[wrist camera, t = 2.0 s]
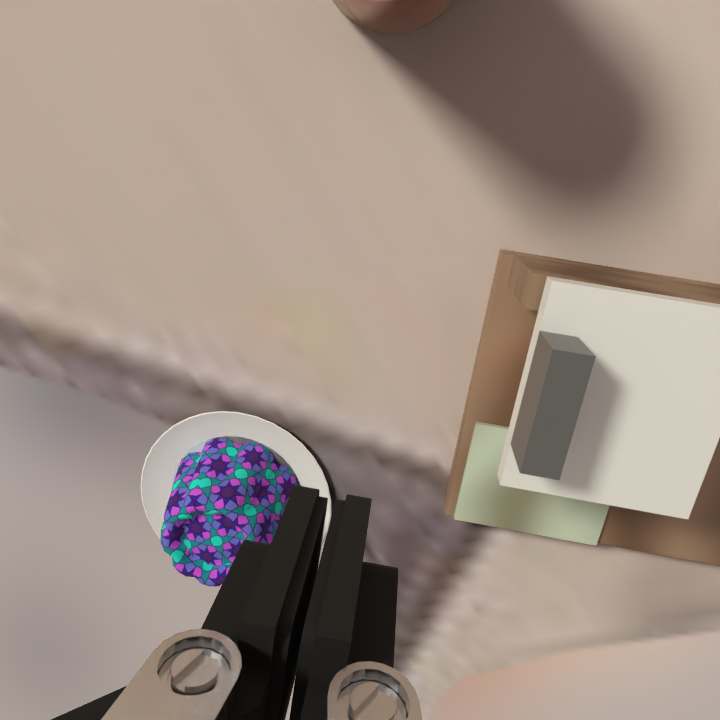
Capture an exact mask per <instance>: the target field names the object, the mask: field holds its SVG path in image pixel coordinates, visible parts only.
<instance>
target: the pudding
mask: <svg viewBox="0 0 720 720" xmlns="http://www.w3.org/2000/svg"><path fill="white" fill-rule="evenodd" d="M223 436H237V437H243V438H248V439H252V440H255V441H257V442H260V443H262V444H264V445H266V446H268V447H269V448H271V449H273V450H274V451H275V452H277V453H278V454H279V455H280V456H282V457H283V458H284V459H285V460H286V462H287V463H288V464H289V465H290V466H291V467H292V469H293V471H294V472H295V474H296V475H297V477H298V480H299V482H300V485H301V486H304V487H309V488H315V489H319V490H320V492H319V496H321V497H326V498H328V503H327V510H326V517H325V524H324V530H323V537H322V543H323V541H324V539H325V537H326V534H327V532H328V528H329V524H330V519H331V497H330V492H329V487H328V484H327V481H326V479H325V476H324V474H323V471H322V469H321V468H320V466H319V465H318V463H317V461H316V460H315V458H314V457H313V455H312V454H311V453H310V452H309V451H308V450H307V448H306V447H305V446H304V445H303V444H302V443H301V442H300V441H299V440H297V439H296V438H295V437H294V436H293V435H291V434H290V433H289V432H288V431H286V430H284V429H282V428H281V427H279V426H277V425H276V424H274V423H272V422H270V421H267V420H264V419H262V418H259V417H257V416H253V415H249V414H244V413H240V412H226V411H218V412H209V413H202V414H199V415H196V416H192V417H189V418H187V419H185V420H183V421H181V422H179V423H177V424H175V425H173V426H172V427H171V428H170V429H168V430H167V431H166V432H165V433H163V434H162V435H161V436H160V438H159V439H158V440H157V441H156V442H155V444H154V445H153V446H152V448H151V450H150V452H149V454H148V455H147V457H146V459H145V463H144V466H143V470H142V475H141V496H142V503H143V506H144V510H145V512H146V516H147V518H148V520H149V522H150V524H151V526H152V528H153V530H154V532H155V533H156V534H157V536H158V537H159V539H160V540H161V544H162V547H163V549H164V551H165V552H166V553H168V554H169V555H170V556H172V560H173V566H174V567H175V568H176V569H177V570H178V572H180V573H181V574H183V575H185V576H190V577H196V578H197V579H198V580H199V582H200V583H202V584H204V585H207V586H220V585H221V584H223V582H224V580H225V578H226V576H227V573H228V571H229V569H230V567H231V565H232V563H233V561H234V559H235V557H236V555H237V552H238V550H239V548H240V546H241V544H242V543H243V541H244V540H250V541H255V542H261V543H266V544H271V542H272V540H273V537H274V535H275V532H276V529H277V527H278V524H279V522H280V519H281V517H282V514H283V512H284V509H285V507H286V504H287V502H288V499H289V497H290V494H291V492H292V489H293V487H294V485H298V483H297V480H296V476H295V475H294V474H293V473H292V472H291V470H290V469H289V468H288V467H285V466H282V465H279V464H277V463H276V462H275V459H274V457H273V454H272V452H271V451H270V450H268V449H267V448H266V447H264V446H263V445H261V444H257V443H254V442H248V443H245V444H242V445H237V444H236V443H234V442H233V441H231V440H229V439H228V438H216V439H214V440H210V439H212V438H215V437H223ZM321 545H322V544H321Z"/></svg>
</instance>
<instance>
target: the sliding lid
mask: <svg viewBox="0 0 720 720" xmlns="http://www.w3.org/2000/svg"><path fill="white" fill-rule="evenodd" d="M719 438H720V304H716V303H709V302H703V301H697V300H691V299H685V298H679V297H673V296H666V295H660V294H654V293H648V292H642V291H636V290H629V289H623V288H617V287H611V286H605V285H599V284H593V283H586V282H580V281H574V280H568V279H562V278H556V277H550V276H547V279H546V283H545V287H544V291H543V295H542V298H541V302H540V306H539V310H538V314H537V318H536V322H535V326H534V330H533V334H532V338H531V342H530V346H529V350H528V354H527V358H526V362H525V366H524V370H523V374H522V378H521V382H520V386H519V389H518V393H517V397H516V401H515V405H514V409H513V413H512V417H511V421H510V425H509V429H508V433H507V437H506V441H505V445H504V449H503V453H502V457H501V461H500V465H499V469H498V473H497V475H498V479H499V483H500V485H502V486H507V487H513V488H518V489H524V490H529V491H535V492H540V493H546V494H551V495H557V496H562V497H568V498H573V499H579V500H584V501H590V502H595V503H600V504H606V505H611V506H617V507H622V508H628V509H633V510H639V511H644V512H650V513H655V514H661V515H666V516H672V517H677V518H683V519H689V516H690V513H691V511H692V508H693V506H694V503H695V500H696V498H697V495H698V493H699V490H700V487H701V485H702V482H703V480H704V477H705V474H706V472H707V469H708V467H709V464H710V461H711V459H712V456H713V454H714V451H715V448H716V446H717V443H718V441H719Z"/></svg>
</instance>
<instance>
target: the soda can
mask: <svg viewBox="0 0 720 720" xmlns="http://www.w3.org/2000/svg"><path fill="white" fill-rule="evenodd" d="M332 1H333V2H334V4H335V5H336V6H337V7H338V9H339V10H340V11H341V12H342V13H344V14H345V15H346V16H347V17H348V18H350V19H351V20H352V21H354V22H355V23H357V24H359V25H361V26H363V27H365V28H367V29H371V30H374V31H378V32H383V33H400V32H406V31H411V30H414V29H417V28H419V27H422V26H424V25H427V24H428V23H430V22H431V21H433V20H434V19H436V18H437V17H439V16H440V15H442V14H443V13H444V12H445V11H446V10H447V9H448V8H449V7H450V6H451V5H452V4H453V3H454V1H455V0H332Z"/></svg>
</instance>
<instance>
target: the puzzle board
mask: <svg viewBox="0 0 720 720" xmlns="http://www.w3.org/2000/svg"><path fill="white" fill-rule="evenodd" d="M547 276H550V277H556V278H562V279H568V280H574V281H580V282H586V283H593V284H599V285H605V286H611V287H617V288H623V289H629V290H636V291H642V292H648V293H654V294H660V295H666V296H673V297H679V298H685V299H691V300H697V301H703V302H709V303H716V304H720V285H719V284H713V283H706V282H700V281H694V280H688V279H681V278H675V277H669V276H663V275H657V274H650V273H644V272H638V271H632V270H625V269H619V268H613V267H607V266H601V265H594V264H588V263H582V262H576V261H570V260H563V259H557V258H551V257H545V256H538V255H532V254H526V253H520V252H514V251H507V250H501V249H500V253H499V258H498V262H497V266H496V271H495V275H494V280H493V284H492V289H491V293H490V298H489V302H488V307H487V311H486V316H485V320H484V325H483V329H482V334H481V338H480V343H479V347H478V352H477V356H476V361H475V365H474V370H473V374H472V379H471V383H470V388H469V392H468V397H467V401H466V405H465V410H464V414H463V419H462V423H461V428H460V432H459V437H458V441H457V446H456V450H455V455H454V459H453V464H452V468H451V473H450V477H449V482H448V486H447V491H446V495H445V500H444V504H445V515H450V516H454V519H455V520H461V521H466V522H471V523H477V524H482V525H487V526H493V527H498V528H504V529H509V530H514V531H520V532H525V533H530V534H536V535H541V536H546V537H552V538H557V539H563V540H568V541H573V542H579V543H584V544H589V545H595V546H596V545H597V543H600V544H605V545H611V546H616V547H622V548H627V549H632V550H638V551H643V552H648V553H654V554H659V555H664V556H670V557H675V558H681V559H686V560H691V561H697V562H702V563H707V564H713V565H718V566H720V438H719V441H718V443H717V446H716V448H715V451H714V454H713V456H712V459H711V461H710V464H709V467H708V469H707V472H706V474H705V477H704V480H703V482H702V485H701V487H700V490H699V493H698V495H697V498H696V500H695V503H694V506H693V508H692V511H691V513H690V516H689V519H683V518H677V517H672V516H666V515H661V514H655V513H650V512H644V511H639V510H633V509H628V508H622V507H617V506H611V505H606V504H600V503H595V502H590V501H584V500H579V499H573V498H568V497H562V496H557V495H551V494H546V493H540V492H535V491H529V490H524V489H518V488H513V487H507V486H502V485H500V483H499V479H498V475H497V473H498V469H499V465H500V461H501V457H502V453H503V449H504V445H505V441H506V437H507V433H508V429H509V425H510V421H511V417H512V413H513V409H514V405H515V401H516V397H517V393H518V389H519V386H520V382H521V378H522V374H523V370H524V366H525V362H526V358H527V354H528V350H529V346H530V342H531V338H532V334H533V330H534V326H535V322H536V318H537V314H538V310H539V306H540V302H541V298H542V295H543V291H544V287H545V283H546V279H547Z"/></svg>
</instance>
